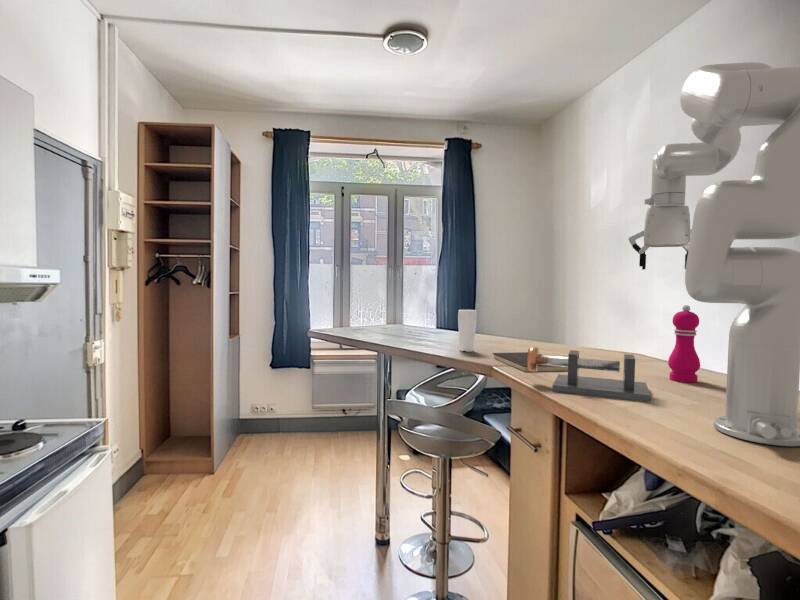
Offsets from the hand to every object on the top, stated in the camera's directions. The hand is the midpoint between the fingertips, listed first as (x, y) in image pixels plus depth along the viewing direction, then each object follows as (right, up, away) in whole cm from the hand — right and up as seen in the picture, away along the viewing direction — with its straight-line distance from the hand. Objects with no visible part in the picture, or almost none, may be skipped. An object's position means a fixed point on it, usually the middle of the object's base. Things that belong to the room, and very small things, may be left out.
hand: (664, 269), depth 116 cm
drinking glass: (-44, -27, +49) cm, 71 cm away
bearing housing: (-21, -29, -9) cm, 37 cm away
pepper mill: (+7, -29, +4) cm, 30 cm away
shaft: (-26, -26, -7) cm, 38 cm away
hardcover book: (-27, -29, +25) cm, 47 cm away
